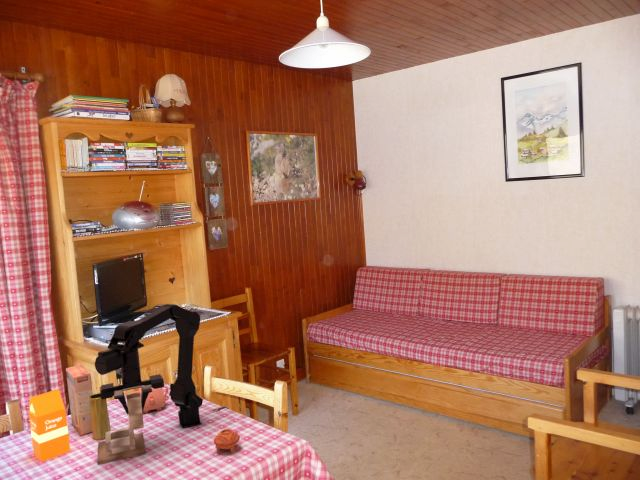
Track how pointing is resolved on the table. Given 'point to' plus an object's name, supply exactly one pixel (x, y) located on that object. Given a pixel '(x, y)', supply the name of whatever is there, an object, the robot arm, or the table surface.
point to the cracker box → (80, 398)
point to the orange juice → (48, 425)
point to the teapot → (154, 399)
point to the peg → (135, 411)
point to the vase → (99, 416)
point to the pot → (226, 439)
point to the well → (120, 445)
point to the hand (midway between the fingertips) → (135, 412)
